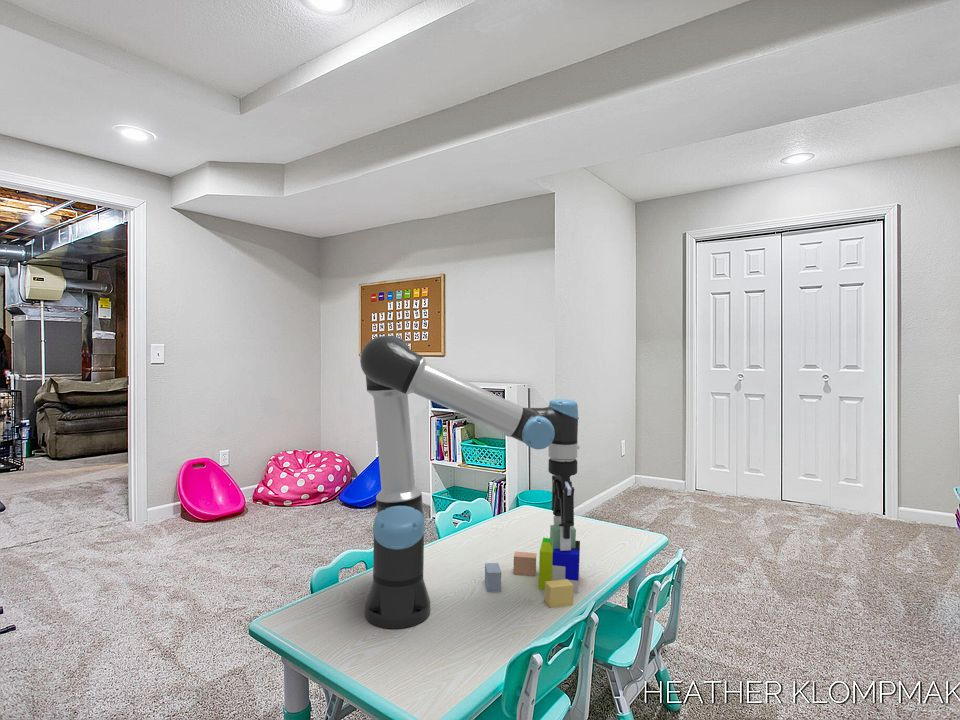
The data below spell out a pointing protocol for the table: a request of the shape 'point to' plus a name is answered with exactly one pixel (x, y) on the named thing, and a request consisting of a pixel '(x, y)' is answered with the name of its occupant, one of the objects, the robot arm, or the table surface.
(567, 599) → the ochre block
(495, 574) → the slate block
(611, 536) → the table surface
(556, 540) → the green block
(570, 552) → the puzzle toy
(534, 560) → the terracotta block
